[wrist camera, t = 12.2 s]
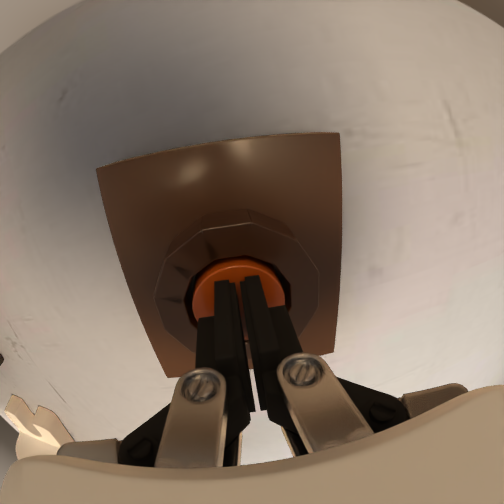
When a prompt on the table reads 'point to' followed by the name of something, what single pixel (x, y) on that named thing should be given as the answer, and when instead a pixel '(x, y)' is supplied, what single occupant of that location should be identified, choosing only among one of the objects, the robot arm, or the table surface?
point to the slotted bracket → (36, 429)
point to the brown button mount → (229, 230)
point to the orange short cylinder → (235, 272)
